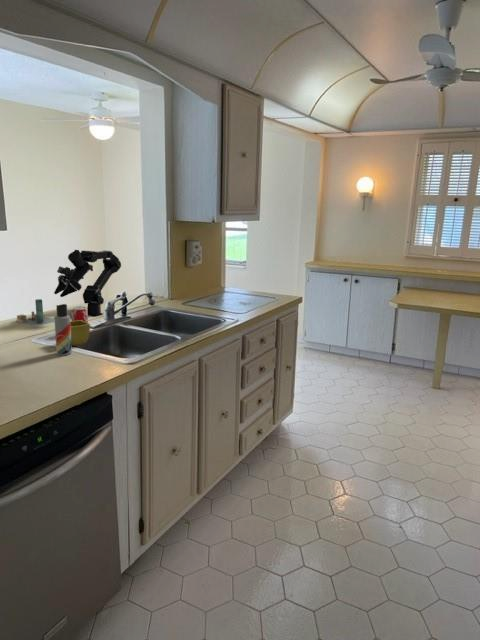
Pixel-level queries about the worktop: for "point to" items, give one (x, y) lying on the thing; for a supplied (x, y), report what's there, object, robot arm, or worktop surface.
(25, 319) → the block
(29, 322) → the yard mat
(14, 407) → the worktop surface
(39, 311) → the gate
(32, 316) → the post on square base
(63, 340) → the lotion bottle
